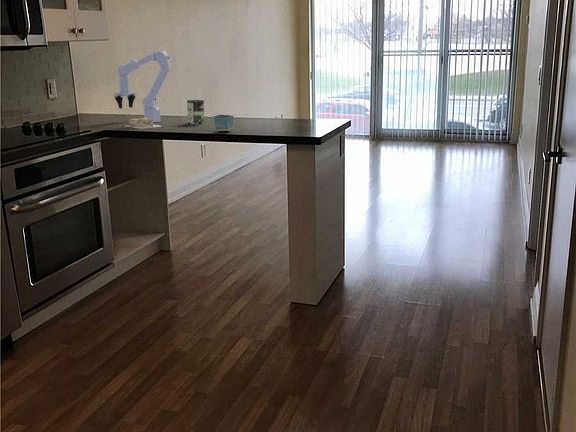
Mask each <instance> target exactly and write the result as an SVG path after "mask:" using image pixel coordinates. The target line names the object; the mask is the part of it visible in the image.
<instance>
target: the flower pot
mask: <svg viewBox="0 0 576 432" xmlns="http://www.w3.org/2000/svg"><path fill="white" fill-rule="evenodd" d="M213 122H214V123H213V124H214V127H215V129H216V130H217V129H228V128H230V127H231V128H232V127H233V125H234V115H230V114H218V115H213Z"/></svg>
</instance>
